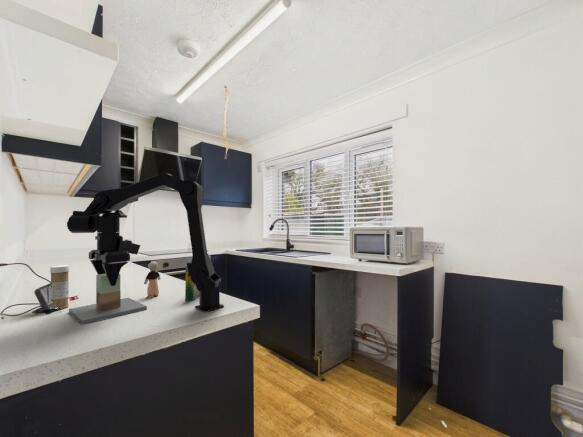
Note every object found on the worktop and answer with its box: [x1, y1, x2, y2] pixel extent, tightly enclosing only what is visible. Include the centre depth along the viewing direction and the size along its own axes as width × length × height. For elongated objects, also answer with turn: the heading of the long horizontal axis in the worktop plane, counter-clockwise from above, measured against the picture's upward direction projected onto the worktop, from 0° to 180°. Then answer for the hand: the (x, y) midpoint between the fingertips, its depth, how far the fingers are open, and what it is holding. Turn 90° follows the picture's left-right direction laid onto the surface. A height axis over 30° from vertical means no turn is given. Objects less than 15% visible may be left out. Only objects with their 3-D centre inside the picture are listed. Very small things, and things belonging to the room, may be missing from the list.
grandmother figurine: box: [143, 261, 161, 299], centre depth 98 cm, size 8×4×13 cm, turn 179°
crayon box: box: [184, 265, 199, 302], centre depth 95 cm, size 7×3×12 cm, turn 179°
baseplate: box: [68, 297, 148, 325], centre depth 81 cm, size 16×16×1 cm
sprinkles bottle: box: [49, 264, 70, 310], centre depth 85 cm, size 5×5×13 cm
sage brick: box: [95, 273, 121, 294], centre depth 81 cm, size 5×5×5 cm
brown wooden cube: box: [95, 290, 122, 311], centre depth 81 cm, size 5×5×5 cm
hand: (108, 283), depth 81 cm, fingers open, 9 cm apart
